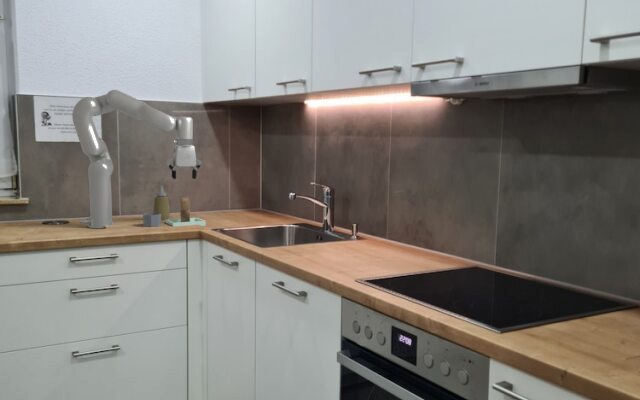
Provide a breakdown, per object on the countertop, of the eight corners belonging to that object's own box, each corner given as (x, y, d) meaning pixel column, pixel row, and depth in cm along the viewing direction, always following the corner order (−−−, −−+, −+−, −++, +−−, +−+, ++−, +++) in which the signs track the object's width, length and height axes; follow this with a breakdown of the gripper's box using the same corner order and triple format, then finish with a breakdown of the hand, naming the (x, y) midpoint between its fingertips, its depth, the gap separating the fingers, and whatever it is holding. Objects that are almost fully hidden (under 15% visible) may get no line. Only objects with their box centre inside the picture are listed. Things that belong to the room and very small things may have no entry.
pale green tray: (173, 228, 271) (173, 223, 270) (165, 224, 281) (165, 219, 281) (205, 225, 279) (205, 220, 279) (196, 222, 289) (196, 217, 289)
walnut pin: (182, 224, 277) (182, 197, 275) (179, 222, 281) (179, 196, 279) (191, 223, 279) (191, 196, 278) (188, 222, 283) (188, 195, 281)
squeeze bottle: (172, 220, 296) (171, 184, 294) (166, 222, 288) (166, 186, 286) (156, 219, 297) (156, 184, 295) (150, 221, 289) (150, 185, 287)
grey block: (145, 229, 266) (145, 215, 265) (140, 227, 273) (140, 213, 272) (163, 228, 270) (163, 214, 270) (158, 225, 277) (158, 212, 277)
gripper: (169, 142, 268) (168, 179, 270) (204, 143, 277) (204, 179, 279) (164, 142, 274) (163, 178, 276) (199, 143, 283) (198, 177, 285)
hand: (184, 178), depth 277 cm, fingers open, 9 cm apart
